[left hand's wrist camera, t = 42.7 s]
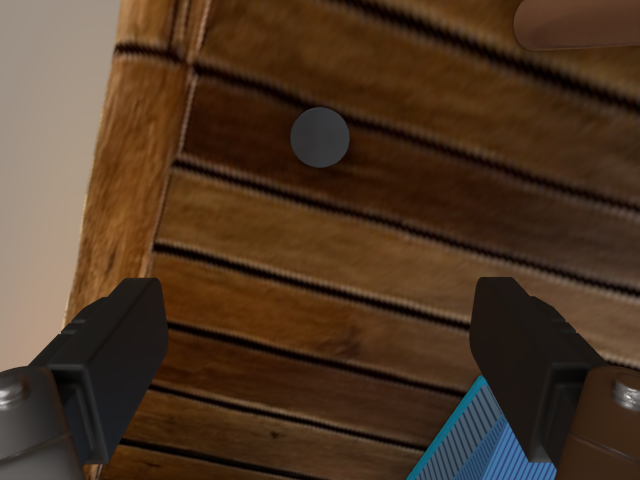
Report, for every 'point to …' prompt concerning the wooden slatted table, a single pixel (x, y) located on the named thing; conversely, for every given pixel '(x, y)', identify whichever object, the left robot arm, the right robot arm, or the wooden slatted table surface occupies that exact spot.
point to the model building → (478, 445)
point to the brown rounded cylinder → (577, 24)
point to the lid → (319, 136)
